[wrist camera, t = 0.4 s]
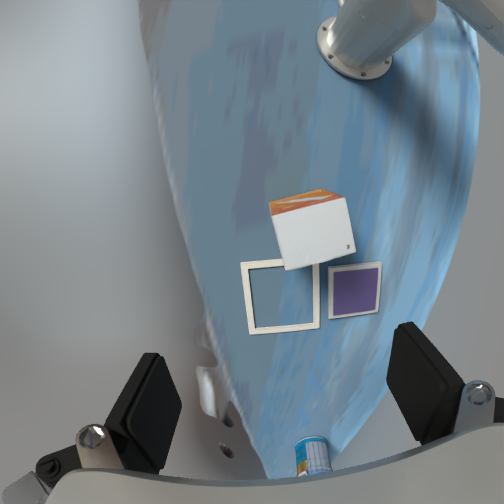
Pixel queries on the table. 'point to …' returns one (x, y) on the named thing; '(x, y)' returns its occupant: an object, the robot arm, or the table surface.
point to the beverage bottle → (312, 456)
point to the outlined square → (248, 300)
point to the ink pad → (353, 289)
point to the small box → (312, 228)
